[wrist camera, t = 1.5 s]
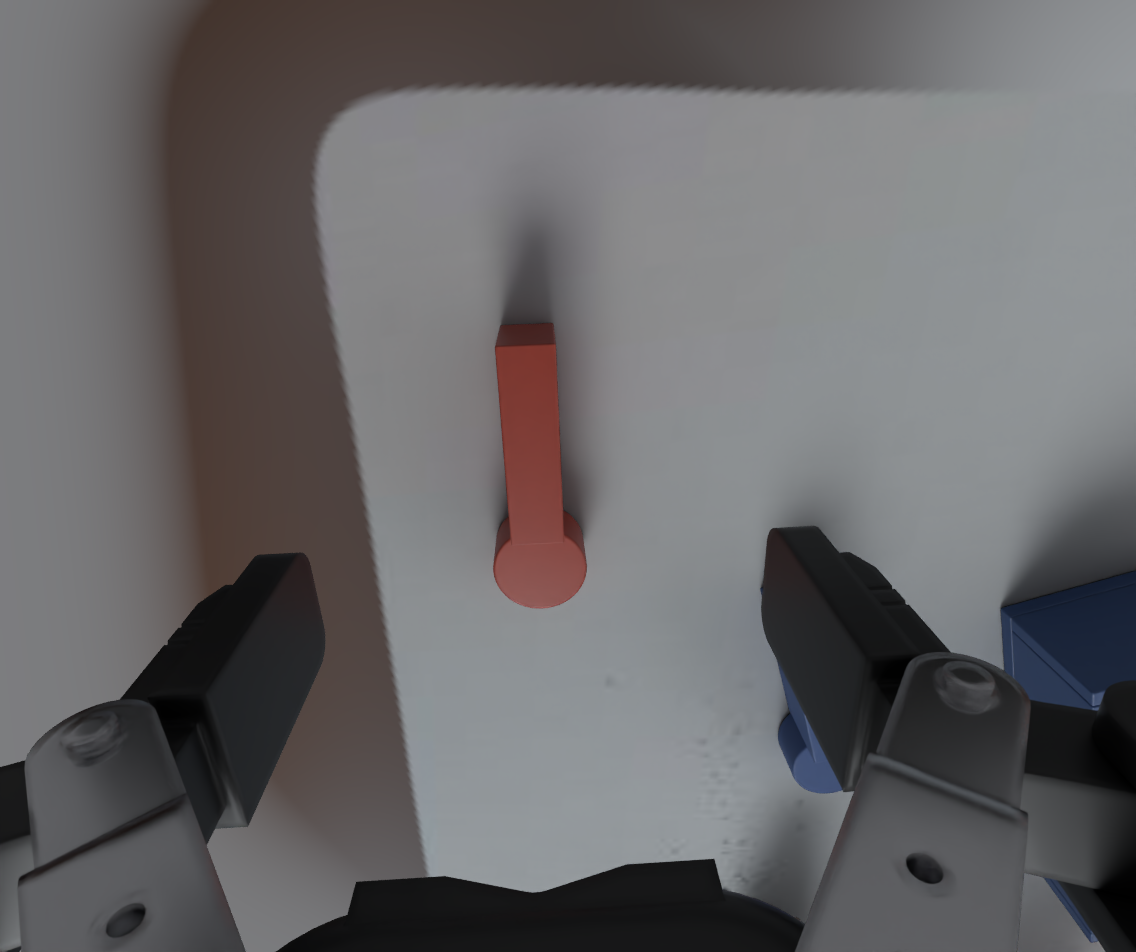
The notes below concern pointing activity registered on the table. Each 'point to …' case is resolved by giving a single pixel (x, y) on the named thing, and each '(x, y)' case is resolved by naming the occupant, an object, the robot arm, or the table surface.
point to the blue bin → (1073, 653)
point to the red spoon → (534, 475)
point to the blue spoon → (804, 748)
